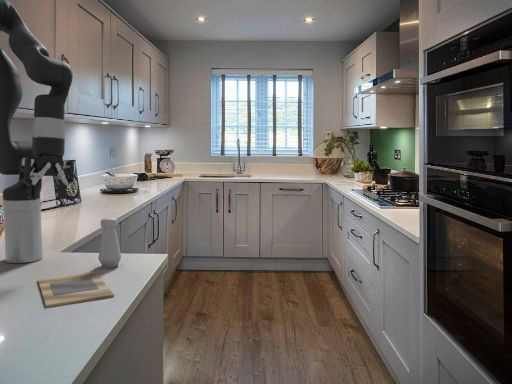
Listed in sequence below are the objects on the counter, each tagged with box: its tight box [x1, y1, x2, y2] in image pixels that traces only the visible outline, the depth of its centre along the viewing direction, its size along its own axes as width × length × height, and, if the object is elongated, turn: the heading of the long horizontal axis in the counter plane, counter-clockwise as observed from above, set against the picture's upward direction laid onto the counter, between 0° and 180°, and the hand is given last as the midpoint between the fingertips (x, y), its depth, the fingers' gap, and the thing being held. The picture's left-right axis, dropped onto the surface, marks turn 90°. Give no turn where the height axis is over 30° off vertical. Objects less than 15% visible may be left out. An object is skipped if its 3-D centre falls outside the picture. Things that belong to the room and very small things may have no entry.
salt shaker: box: [97, 217, 122, 269], centre depth 117 cm, size 6×6×13 cm
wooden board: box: [37, 271, 115, 308], centre depth 98 cm, size 20×13×1 cm, turn 31°
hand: (47, 199), depth 112 cm, fingers open, 8 cm apart
